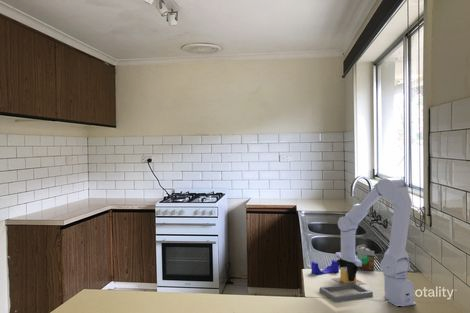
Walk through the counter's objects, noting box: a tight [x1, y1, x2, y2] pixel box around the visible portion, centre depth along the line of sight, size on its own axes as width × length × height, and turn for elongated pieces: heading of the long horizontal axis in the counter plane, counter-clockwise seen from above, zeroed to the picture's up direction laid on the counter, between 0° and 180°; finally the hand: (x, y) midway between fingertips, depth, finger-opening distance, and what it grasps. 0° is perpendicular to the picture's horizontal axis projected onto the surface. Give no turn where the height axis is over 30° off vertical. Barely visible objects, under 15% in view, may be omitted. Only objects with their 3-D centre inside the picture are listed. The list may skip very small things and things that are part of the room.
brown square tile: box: [331, 277, 366, 286], centre depth 138 cm, size 10×10×1 cm
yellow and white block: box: [339, 267, 357, 283], centre depth 138 cm, size 4×5×6 cm
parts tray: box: [319, 283, 374, 303], centre depth 125 cm, size 10×16×2 cm, turn 109°
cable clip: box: [311, 259, 340, 276], centre depth 151 cm, size 12×4×6 cm, turn 107°
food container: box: [355, 244, 376, 272], centre depth 159 cm, size 12×6×10 cm, turn 178°
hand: (348, 279), depth 138 cm, fingers open, 4 cm apart
